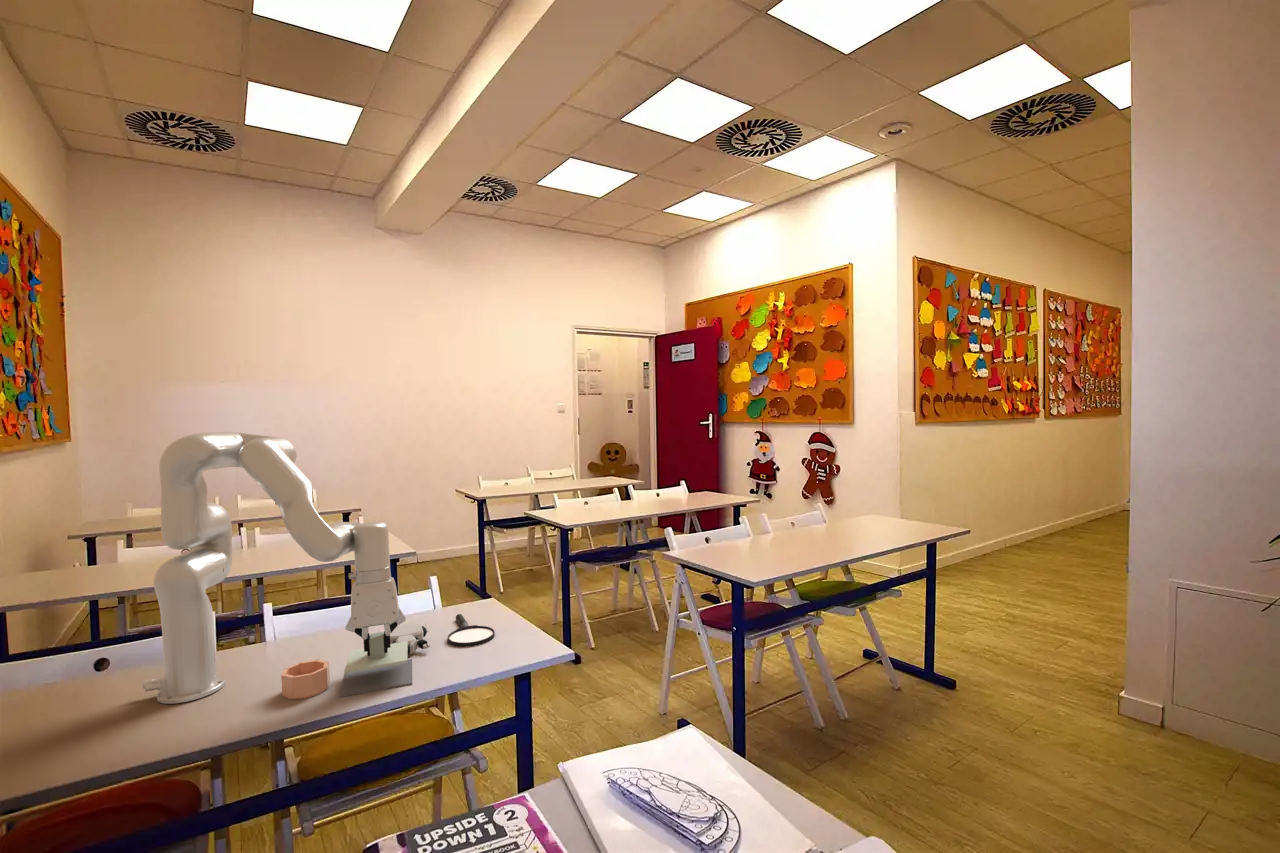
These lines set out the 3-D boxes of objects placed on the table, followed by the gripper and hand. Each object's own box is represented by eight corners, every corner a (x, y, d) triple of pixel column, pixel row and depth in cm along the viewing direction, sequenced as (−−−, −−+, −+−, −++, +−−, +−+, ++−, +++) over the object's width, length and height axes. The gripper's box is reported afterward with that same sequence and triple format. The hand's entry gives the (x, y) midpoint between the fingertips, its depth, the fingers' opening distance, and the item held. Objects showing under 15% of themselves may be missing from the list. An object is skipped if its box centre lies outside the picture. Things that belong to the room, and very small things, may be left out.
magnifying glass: (480, 617, 186) (479, 610, 186) (499, 643, 165) (499, 635, 165) (437, 624, 181) (437, 617, 181) (452, 653, 159) (451, 645, 159)
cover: (344, 673, 135) (343, 650, 135) (350, 652, 148) (349, 632, 148) (407, 662, 140) (406, 640, 140) (407, 643, 152) (406, 623, 152)
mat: (339, 697, 134) (339, 695, 134) (346, 671, 148) (346, 669, 148) (412, 684, 140) (412, 682, 140) (412, 660, 154) (412, 658, 154)
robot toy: (432, 657, 158) (426, 634, 171) (432, 640, 158) (425, 619, 171) (381, 667, 153) (378, 643, 166) (380, 649, 152) (378, 627, 166)
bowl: (279, 702, 133) (278, 680, 133) (287, 685, 141) (286, 664, 141) (326, 694, 136) (325, 672, 136) (331, 678, 144) (330, 657, 144)
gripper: (332, 584, 137) (337, 665, 137) (410, 574, 143) (414, 651, 143) (336, 576, 144) (341, 653, 144) (410, 567, 150) (414, 641, 150)
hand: (377, 651), depth 144 cm, fingers closed on cover, 3 cm apart
